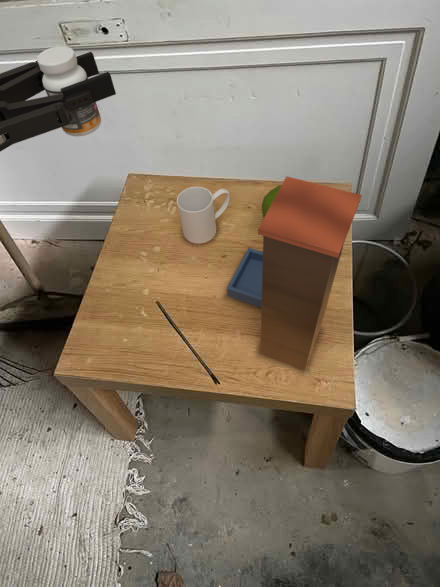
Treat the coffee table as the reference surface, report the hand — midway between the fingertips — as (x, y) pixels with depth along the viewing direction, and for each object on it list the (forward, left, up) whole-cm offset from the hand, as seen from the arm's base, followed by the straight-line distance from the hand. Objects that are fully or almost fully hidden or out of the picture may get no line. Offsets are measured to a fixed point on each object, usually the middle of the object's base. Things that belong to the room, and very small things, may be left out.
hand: (103, 72), depth 56 cm
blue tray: (+5, -22, -45) cm, 50 cm away
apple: (+21, -22, -45) cm, 54 cm away
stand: (-6, -32, -45) cm, 55 cm away
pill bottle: (-4, +3, -6) cm, 8 cm away
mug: (+15, -4, -45) cm, 47 cm away
